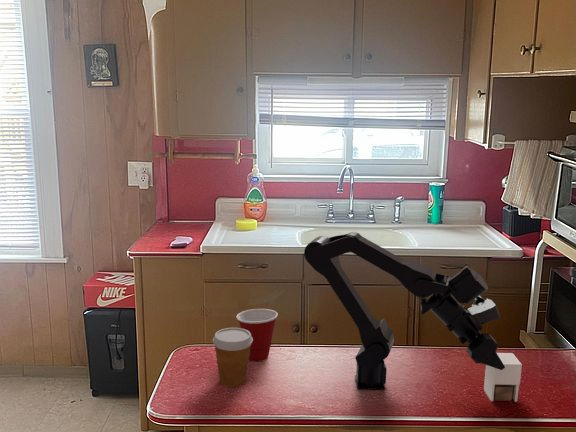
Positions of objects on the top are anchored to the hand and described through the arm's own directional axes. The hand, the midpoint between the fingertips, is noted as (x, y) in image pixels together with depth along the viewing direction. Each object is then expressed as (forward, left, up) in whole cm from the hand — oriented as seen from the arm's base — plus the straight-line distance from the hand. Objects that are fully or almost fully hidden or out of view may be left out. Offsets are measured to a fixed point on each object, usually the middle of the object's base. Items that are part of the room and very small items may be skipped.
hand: (496, 359), depth 143 cm
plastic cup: (-56, +19, -9) cm, 60 cm away
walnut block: (+2, 0, -9) cm, 10 cm away
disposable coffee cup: (-61, +5, -9) cm, 62 cm away
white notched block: (+2, 0, -9) cm, 9 cm away
